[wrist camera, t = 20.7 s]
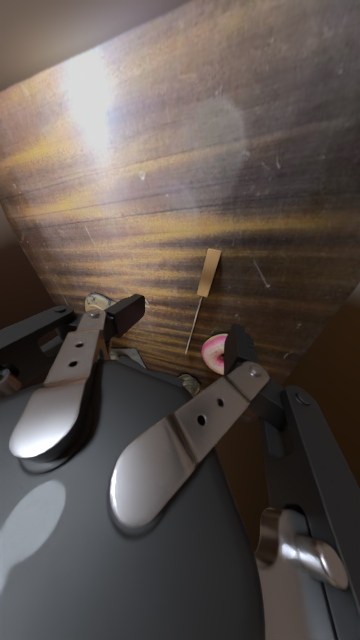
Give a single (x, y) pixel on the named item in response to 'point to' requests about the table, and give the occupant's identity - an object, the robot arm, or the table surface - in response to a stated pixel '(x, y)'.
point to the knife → (206, 278)
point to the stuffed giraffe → (126, 354)
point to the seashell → (191, 384)
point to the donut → (214, 352)
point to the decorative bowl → (97, 302)
